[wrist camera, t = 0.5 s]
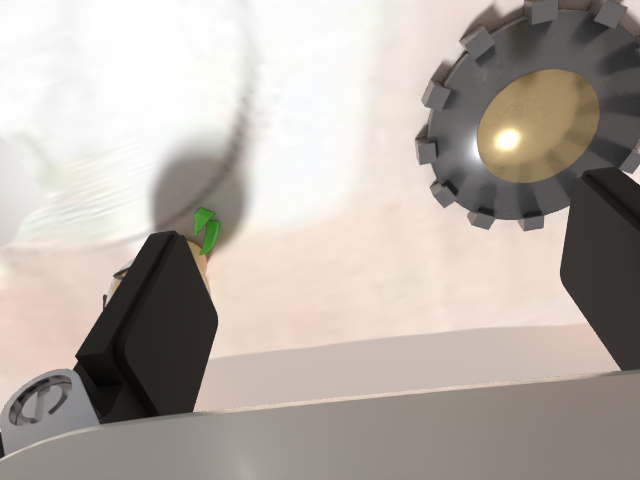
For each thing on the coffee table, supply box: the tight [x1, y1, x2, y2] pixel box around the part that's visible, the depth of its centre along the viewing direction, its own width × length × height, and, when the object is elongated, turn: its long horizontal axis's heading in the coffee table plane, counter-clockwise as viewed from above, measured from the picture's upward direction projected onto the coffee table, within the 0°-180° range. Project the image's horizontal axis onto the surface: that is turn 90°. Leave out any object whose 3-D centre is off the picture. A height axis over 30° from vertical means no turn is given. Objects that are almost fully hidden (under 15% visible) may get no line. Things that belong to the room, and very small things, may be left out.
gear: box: [415, 0, 640, 231], centre depth 42 cm, size 22×22×2 cm
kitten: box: [103, 208, 220, 310], centre depth 46 cm, size 15×10×15 cm
